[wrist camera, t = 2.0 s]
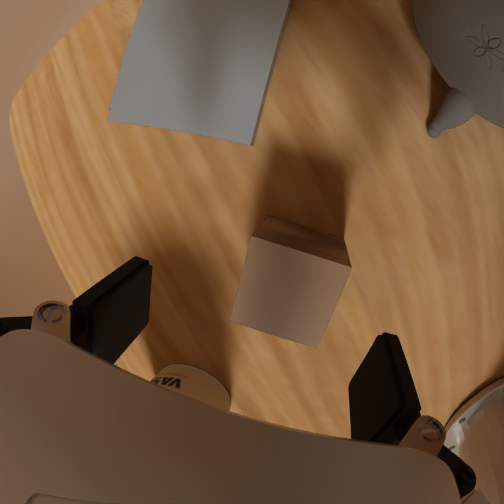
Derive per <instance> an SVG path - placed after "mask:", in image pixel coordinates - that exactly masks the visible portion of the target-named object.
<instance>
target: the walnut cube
mask: <svg viewBox="0 0 504 504" xmlns="http://www.w3.org/2000/svg"><path fill="white" fill-rule="evenodd" d="M351 268H352V267H351V263H350V259H349V255H348V252H347V248H346V244H345V241H344V239H343V238H340V237H337V236H333V235H330V234H327V233H324V232H321V231H318V230H315V229H312V228H308V227H305V226H302V225H299V224H296V223H292V222H289V221H286V220H283V219H279V218H276V217H273V216H269V215H268V217H267V218H266V219H265V220H264V221H263V223H262V224H261V225H260V226H259V227H258V229H257V230H256V231H255V232H254V233H253V235H252V236H251V239H250V243H249V247H248V251H247V255H246V259H245V263H244V267H243V270H242V274H241V278H240V282H239V286H238V290H237V294H236V298H235V302H234V306H233V310H232V314H231V318H230V321H232V322H235V323H238V324H241V325H244V326H247V327H250V328H253V329H256V330H259V331H262V332H265V333H268V334H271V335H274V336H278V337H281V338H284V339H287V340H291V341H294V342H297V343H301V344H304V345H307V346H311V347H314V348H317V346H318V344H319V342H320V340H321V338H322V336H323V334H324V331H325V329H326V327H327V325H328V323H329V320H330V318H331V316H332V314H333V311H334V309H335V307H336V304H337V302H338V300H339V297H340V295H341V293H342V290H343V288H344V285H345V283H346V281H347V278H348V276H349V273H350V271H351Z"/></svg>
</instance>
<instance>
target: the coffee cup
mask: <svg viewBox="0 0 504 504" xmlns="http://www.w3.org/2000/svg"><path fill="white" fill-rule="evenodd" d="M150 382H153V383H155V384H157V385H160V386H162V387H164V388H167V389H169V390H172V391H174V392H177V393H180V394H182V395H185V396H187V397H190V398H193V399H195V400H198V401H201V402H204V403H207V404H210V405H212V406H215V407H218V408H221V409H225V410H228V411H229V410H230V406H231V400H230V396H229V394H228V392H227V390H226V389H225V387H224V386H223V385H222V384H221V383H220V382H219V381H218V380H217V379H216V378H215V377H213V376H212V375H210V374H209V373H207V372H205V371H203V370H201V369H199V368H196V367H193V366H190V365H185V364H172V365H169V366H166V367H165V368H163V369H162V370H161V371H160V372H159V373H158V374H157V375H156V376H155V377H154V378H153V379H152V380H151V381H150Z"/></svg>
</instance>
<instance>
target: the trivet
mask: <svg viewBox="0 0 504 504" xmlns="http://www.w3.org/2000/svg"><path fill="white" fill-rule="evenodd" d="M292 1H293V0H143V2H142V4H141V7H140V9H139V12H138V14H137V17H136V20H135V23H134V25H133V28H132V31H131V34H130V37H129V40H128V43H127V46H126V50H125V53H124V56H123V60H122V63H121V67H120V70H119V74H118V78H117V82H116V86H115V90H114V94H113V98H112V103H111V108H110V112H109V117H108V122H117V123H126V124H134V125H142V126H149V127H156V128H163V129H169V130H175V131H181V132H187V133H192V134H198V135H203V136H208V137H213V138H218V139H223V140H227V141H232V142H237V143H241V144H245V145H250V146H253V145H254V141H255V137H256V133H257V129H258V125H259V121H260V117H261V114H262V110H263V106H264V102H265V98H266V94H267V91H268V87H269V83H270V79H271V76H272V72H273V68H274V65H275V61H276V57H277V54H278V50H279V46H280V43H281V39H282V36H283V32H284V28H285V25H286V21H287V18H288V14H289V11H290V7H291V4H292Z"/></svg>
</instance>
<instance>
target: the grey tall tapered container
mask: <svg viewBox="0 0 504 504" xmlns="http://www.w3.org/2000/svg"><path fill="white" fill-rule="evenodd" d="M413 16H414V22H415V26H416V29H417V32H418V35H419V38H420V40H421V43H422V45H423V47H424V49H425V51H426V53H427V55H428V57H429V58H430V60H431V62H432V63H433V65H434V66H435V68H436V70H437V71H438V72H439V74H440V75H441V77H442V78H443V79H444V81H445V82H446V83H447V84H448V86H449V87H450V88H451V90H450V91H449V92H448V94H447V96H446V97H445V99H444V101H443V103H442V105H441V107H440V109H439V111H438V112H437V114H436V116H435V117H434V119H433V120H432V122H431V123H430V125H429V127H428V129H427V132H428V134H429V136H430V137H432V138H436V137H438V136H439V134H440V133H441V132H442V131H444V130H447V129H451V128H454V127H457V126H460V125H462V124H463V123H465V122H467V121H468V120H469V119H470V118H471V117H472V116H473V115H474V114H475V112H476V113H477V114H478V115H480V116H481V117H483V118H484V119H486V120H488V121H489V122H491V123H493V124H495V125H497V126H500V127H502V128H504V0H413Z"/></svg>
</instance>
